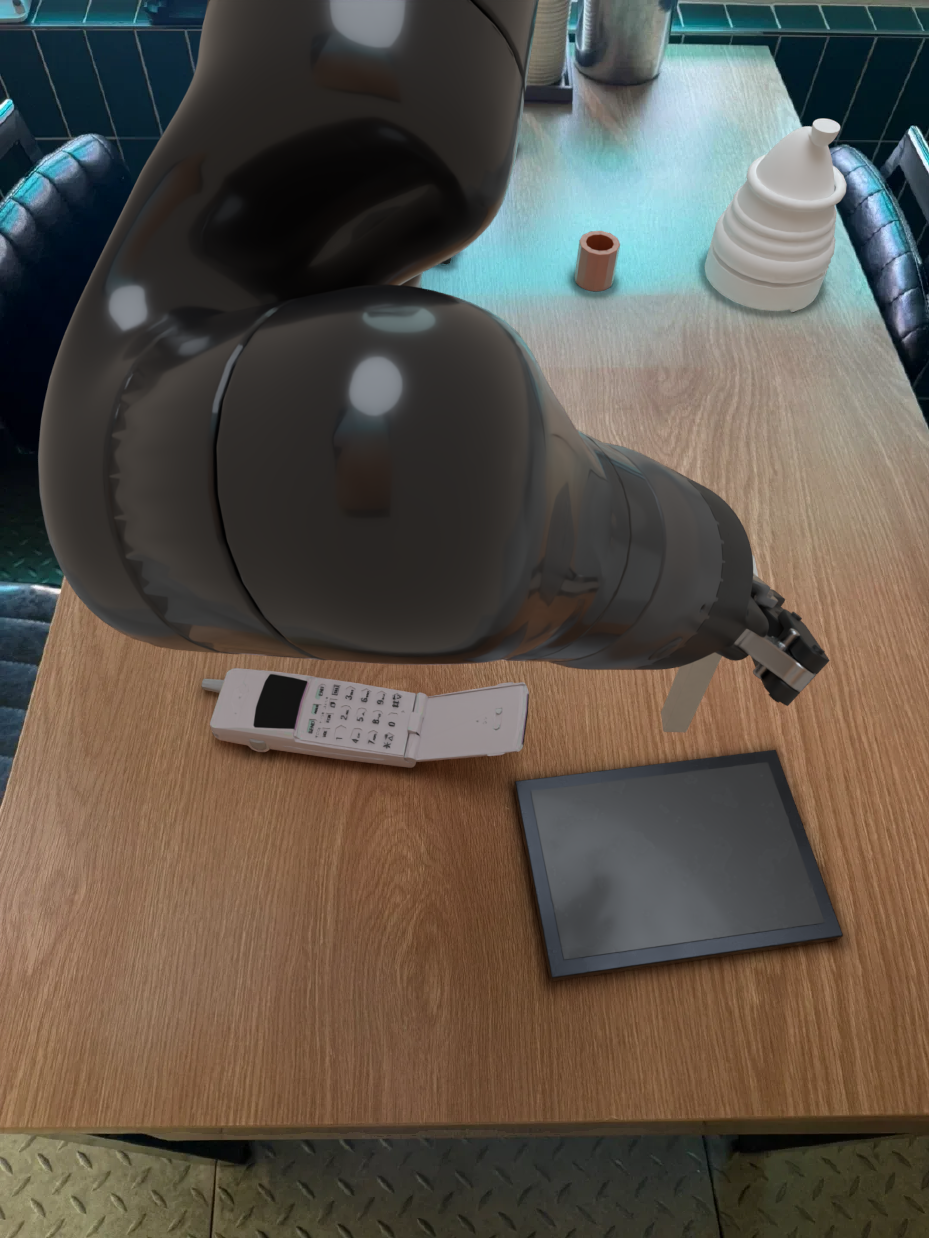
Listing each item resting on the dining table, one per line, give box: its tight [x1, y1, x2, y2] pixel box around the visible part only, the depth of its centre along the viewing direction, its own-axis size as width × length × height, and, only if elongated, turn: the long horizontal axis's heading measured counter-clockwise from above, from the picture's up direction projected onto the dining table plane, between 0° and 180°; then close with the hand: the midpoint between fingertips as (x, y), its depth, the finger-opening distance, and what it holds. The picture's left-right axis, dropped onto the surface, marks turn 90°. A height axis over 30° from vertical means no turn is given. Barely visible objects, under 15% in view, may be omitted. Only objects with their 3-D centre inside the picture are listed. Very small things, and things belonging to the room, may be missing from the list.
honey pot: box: [703, 118, 847, 313], centre depth 98 cm, size 13×13×18 cm
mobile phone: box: [201, 667, 530, 769], centre depth 70 cm, size 6×6×25 cm
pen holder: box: [573, 230, 621, 292], centre depth 102 cm, size 4×4×5 cm
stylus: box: [660, 554, 759, 733], centre depth 50 cm, size 1×1×15 cm
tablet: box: [513, 749, 844, 982], centre depth 67 cm, size 20×14×1 cm
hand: (746, 595), depth 48 cm, fingers closed on stylus
